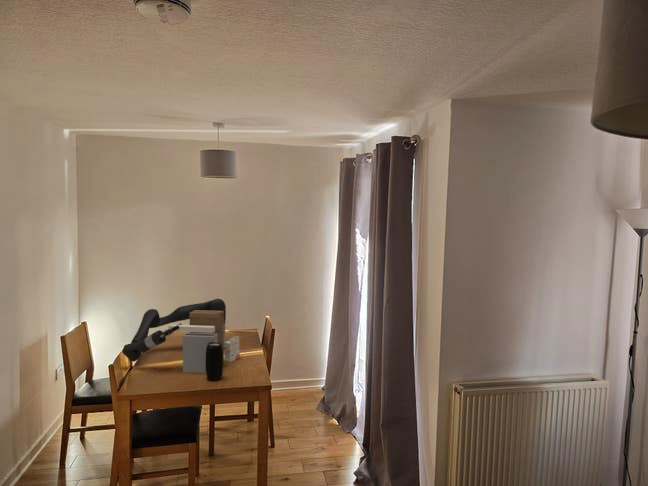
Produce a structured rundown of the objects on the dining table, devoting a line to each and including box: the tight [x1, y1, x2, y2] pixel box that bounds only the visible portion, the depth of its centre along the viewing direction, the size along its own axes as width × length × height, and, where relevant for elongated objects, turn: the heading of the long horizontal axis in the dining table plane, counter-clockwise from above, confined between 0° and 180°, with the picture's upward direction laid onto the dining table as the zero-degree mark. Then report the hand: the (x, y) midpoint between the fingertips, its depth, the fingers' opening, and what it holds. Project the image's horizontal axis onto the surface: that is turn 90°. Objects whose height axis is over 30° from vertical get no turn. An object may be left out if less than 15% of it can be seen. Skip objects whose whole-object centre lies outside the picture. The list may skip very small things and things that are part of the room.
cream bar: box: [168, 324, 215, 333], centre depth 246 cm, size 4×26×3 cm, turn 85°
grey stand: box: [182, 332, 218, 374], centre depth 247 cm, size 7×18×21 cm, turn 85°
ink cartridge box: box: [224, 335, 240, 363], centre depth 267 cm, size 9×5×15 cm, turn 148°
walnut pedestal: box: [189, 310, 225, 364], centre depth 257 cm, size 8×18×32 cm, turn 85°
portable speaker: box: [205, 342, 224, 382], centre depth 235 cm, size 9×9×20 cm
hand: (180, 325), depth 247 cm, fingers closed on cream bar, 3 cm apart
